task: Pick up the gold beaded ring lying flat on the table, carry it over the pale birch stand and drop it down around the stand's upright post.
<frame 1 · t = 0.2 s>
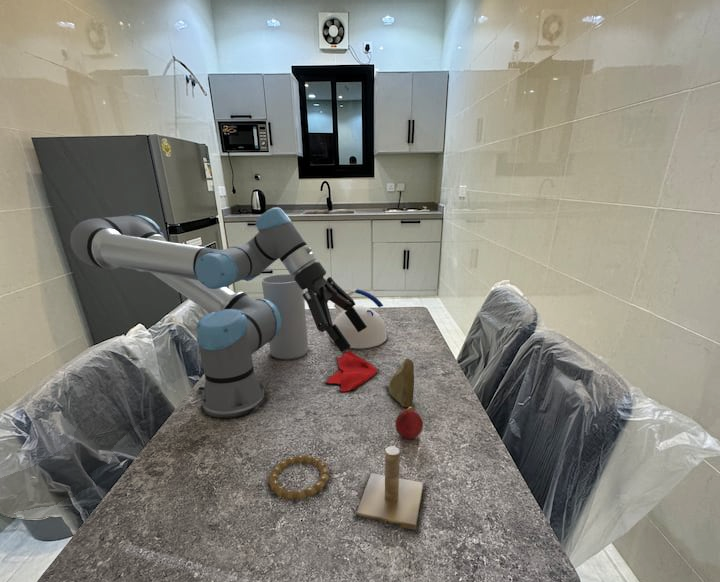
hand: (355, 339, 97), 15 cm above the table, tool tilted 35°, fingers open, 13 cm apart
cylinder vase: (289, 353, 129), on the table
onion: (408, 439, 84), on the table
kettle: (358, 338, 140), on the table
rock: (399, 398, 101), on the table
cloth: (354, 371, 115), on the table
stand: (391, 501, 68), on the table
gold beaded ring: (299, 476, 73), point 1 cm above the table
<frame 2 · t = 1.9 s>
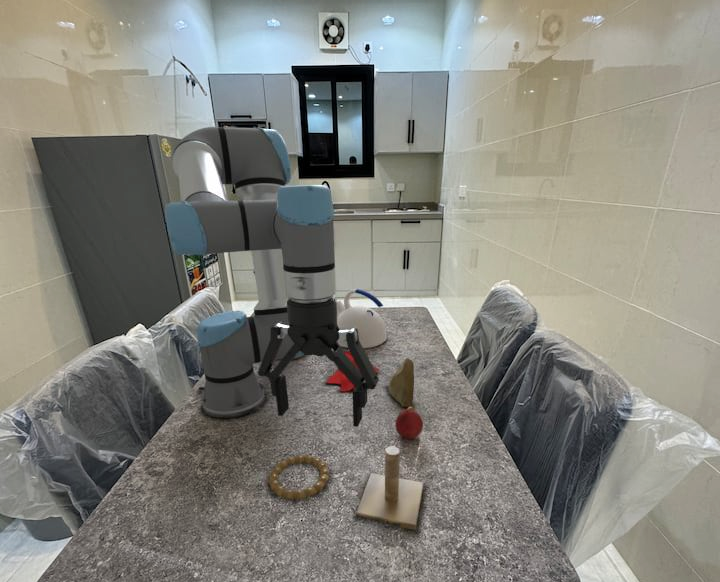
hand: (319, 417, 66), 15 cm above the table, tool pointing down, fingers open, 13 cm apart
nothing on the table moved.
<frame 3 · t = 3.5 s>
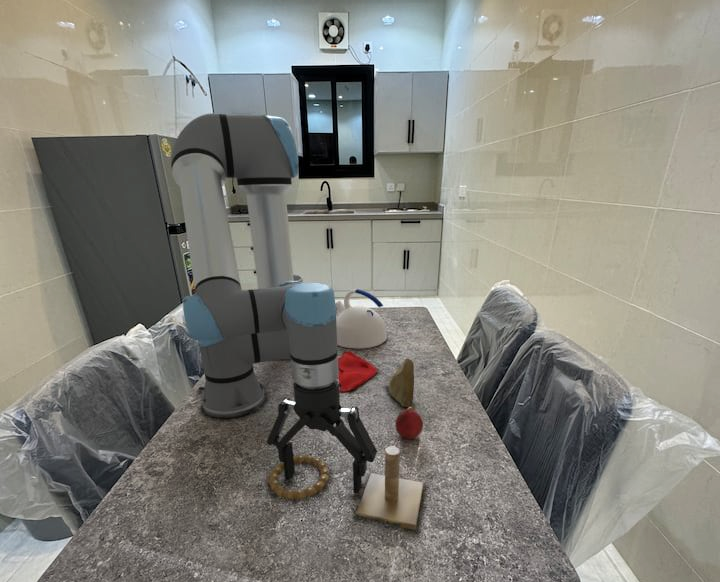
hand: (323, 481, 71), 1 cm above the table, tool pointing down, fingers open, 13 cm apart
nothing on the table moved.
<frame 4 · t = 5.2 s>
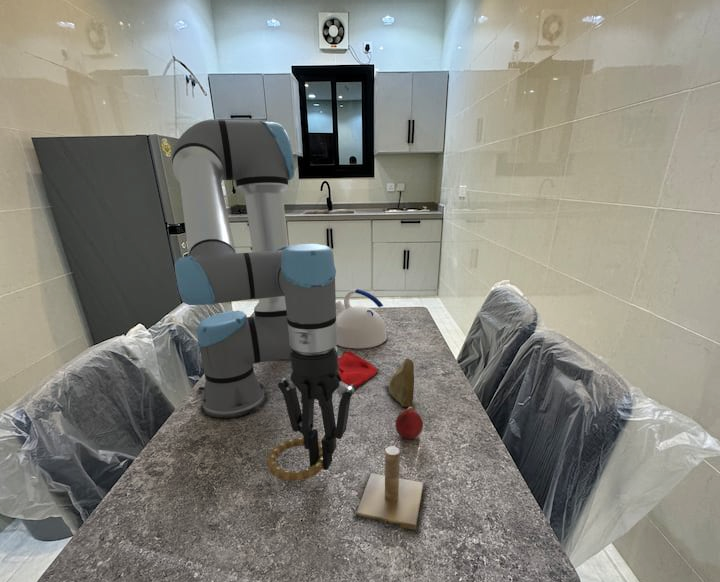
hand: (321, 463, 70), 5 cm above the table, tool pointing down, fingers closed on gold beaded ring, 2 cm apart
gold beaded ring: (297, 457, 71), point 5 cm above the table, touching gripper
everything else where it was.
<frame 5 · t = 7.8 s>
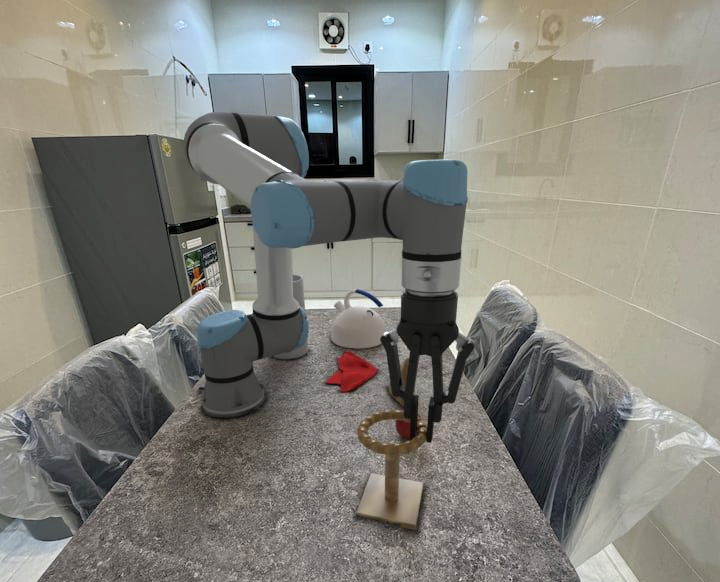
hand: (421, 435, 60), 15 cm above the table, tool pointing down, fingers closed on gold beaded ring, 2 cm apart
gold beaded ring: (392, 430, 61), point 15 cm above the table, touching gripper
everything else where it was.
when the fingers open (6 cm above the table, at t = 10.3 s): gold beaded ring stays where it is, point 5 cm above the table.
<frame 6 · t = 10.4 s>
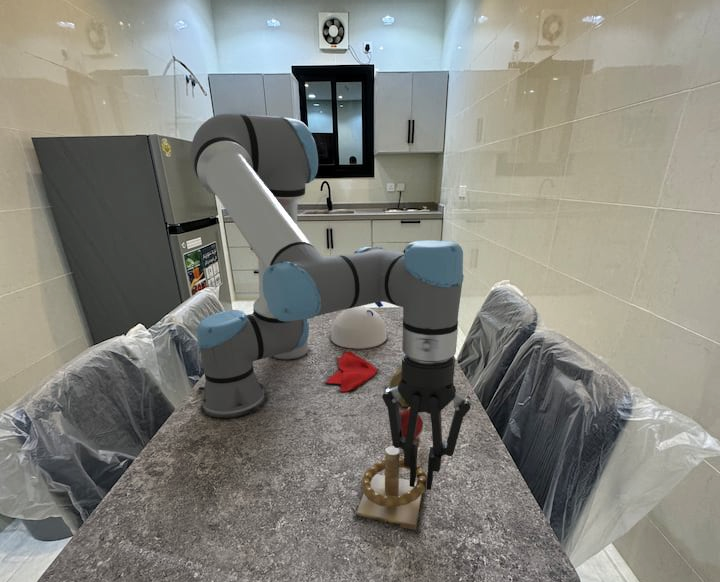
hand: (421, 482, 64), 6 cm above the table, tool pointing down, fingers open, 2 cm apart
gold beaded ring: (393, 480, 66), point 5 cm above the table, tilted 9°
everything else where it was.
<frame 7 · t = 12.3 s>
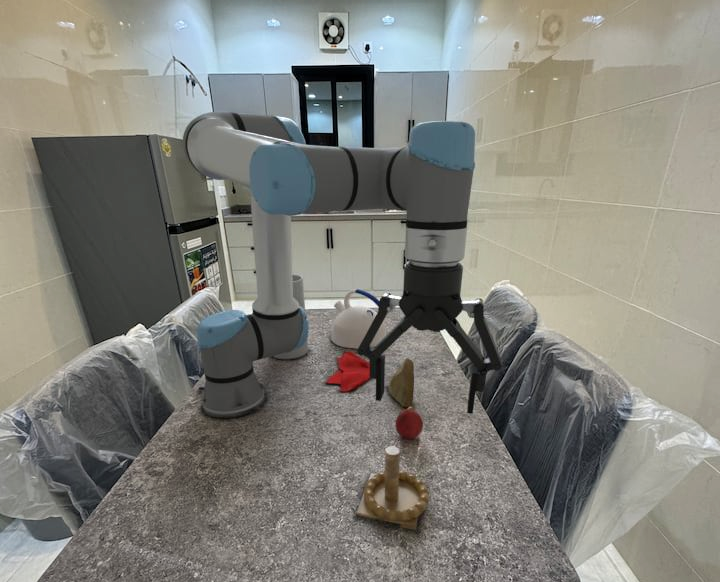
hand: (423, 402, 58), 21 cm above the table, tool pointing down, fingers open, 13 cm apart
gold beaded ring: (396, 494, 67), point 2 cm above the table, touching stand
everything else where it was.
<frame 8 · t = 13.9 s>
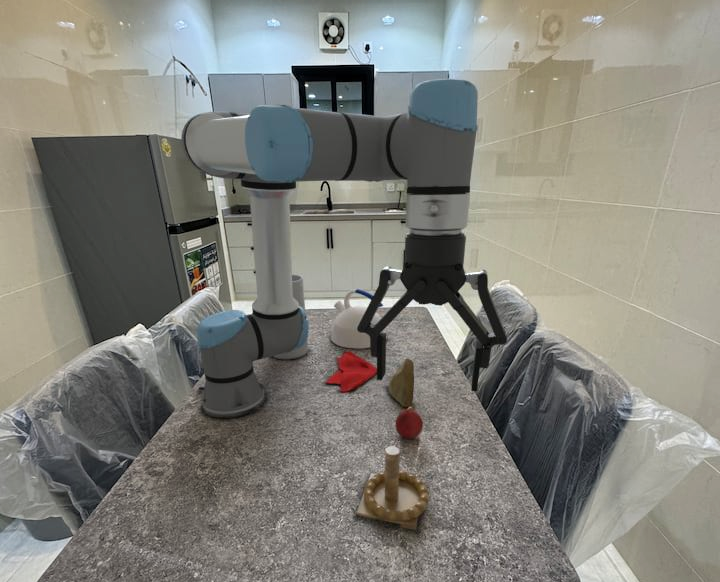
hand: (426, 381, 56), 25 cm above the table, tool pointing down, fingers open, 13 cm apart
nothing on the table moved.
at the end: gold beaded ring 0.8 cm from the stand (horizontally); gold beaded ring point 2.0 cm above the table; the gripper is holding nothing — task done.
